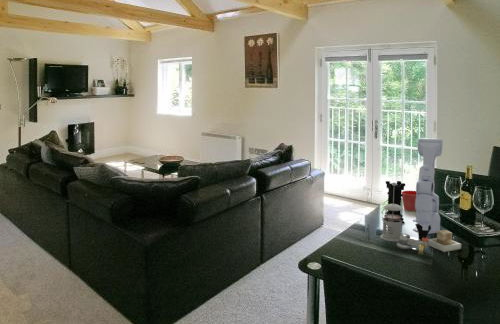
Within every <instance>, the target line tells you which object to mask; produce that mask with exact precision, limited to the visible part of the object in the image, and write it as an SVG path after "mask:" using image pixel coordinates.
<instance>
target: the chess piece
mask: <svg viewBox="0 0 500 324" xmlns="http://www.w3.org/2000/svg"><path fill="white" fill-rule="evenodd" d="M392 183H393V182H391V181H390V180H385V184H386V189H388V192H387V193H386V194H387V197H388V198H387V205H388V204H393V192H394V204H397V205H399V206H401V207H402V196H403V195H402V192H403V191H405V187H406V183H405V182H403V183H402V181H401V180H396V186H394V185H392ZM387 211H388V212H386V211H385V212H386V215H387V214H393V215H399V216H401V220H402V225H404V224H405V221H404V219H405V218H404V217H403V216H404V215H403V214H402V213H401V212H402V210H401V211H390V210H387ZM384 218H385V217H383V219H384ZM386 221H387V222H388V219H387V220H386ZM394 222H400V221H394Z"/></svg>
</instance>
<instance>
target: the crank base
mask: <svg viewBox="0 0 500 324" xmlns="http://www.w3.org/2000/svg"><path fill="white" fill-rule="evenodd" d="M396 247H397V248H398V249H401V250H414V251H416V250H417V248H414V247H413V246H412V245H408V244H401V243H399V241H396ZM424 249H425V248H424V245H419V247H418V250H417V251H418V252H417V254H418V255H420V256H422V255H424Z"/></svg>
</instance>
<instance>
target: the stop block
mask: <svg viewBox="0 0 500 324" xmlns="http://www.w3.org/2000/svg"><path fill="white" fill-rule="evenodd" d="M436 238H437V243H439V244H441V245H444V246H445V245H451V244H452V240H453V232H451V231H449V230H447V229H440V230H438V231H437V233H436Z"/></svg>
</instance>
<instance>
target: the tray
mask: <svg viewBox="0 0 500 324" xmlns="http://www.w3.org/2000/svg"><path fill="white" fill-rule="evenodd" d="M428 240H429V241H428V247H432V248H434V249H436V250H438V251H441V252H443V253H446V252H451V251H457V250H461V249H462V243H460V242H458V241H455V240H453V239H452V244H451V245H445V246H444V245H441V244H439V243H437V237H435V238H430V239H429V238H428Z"/></svg>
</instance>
